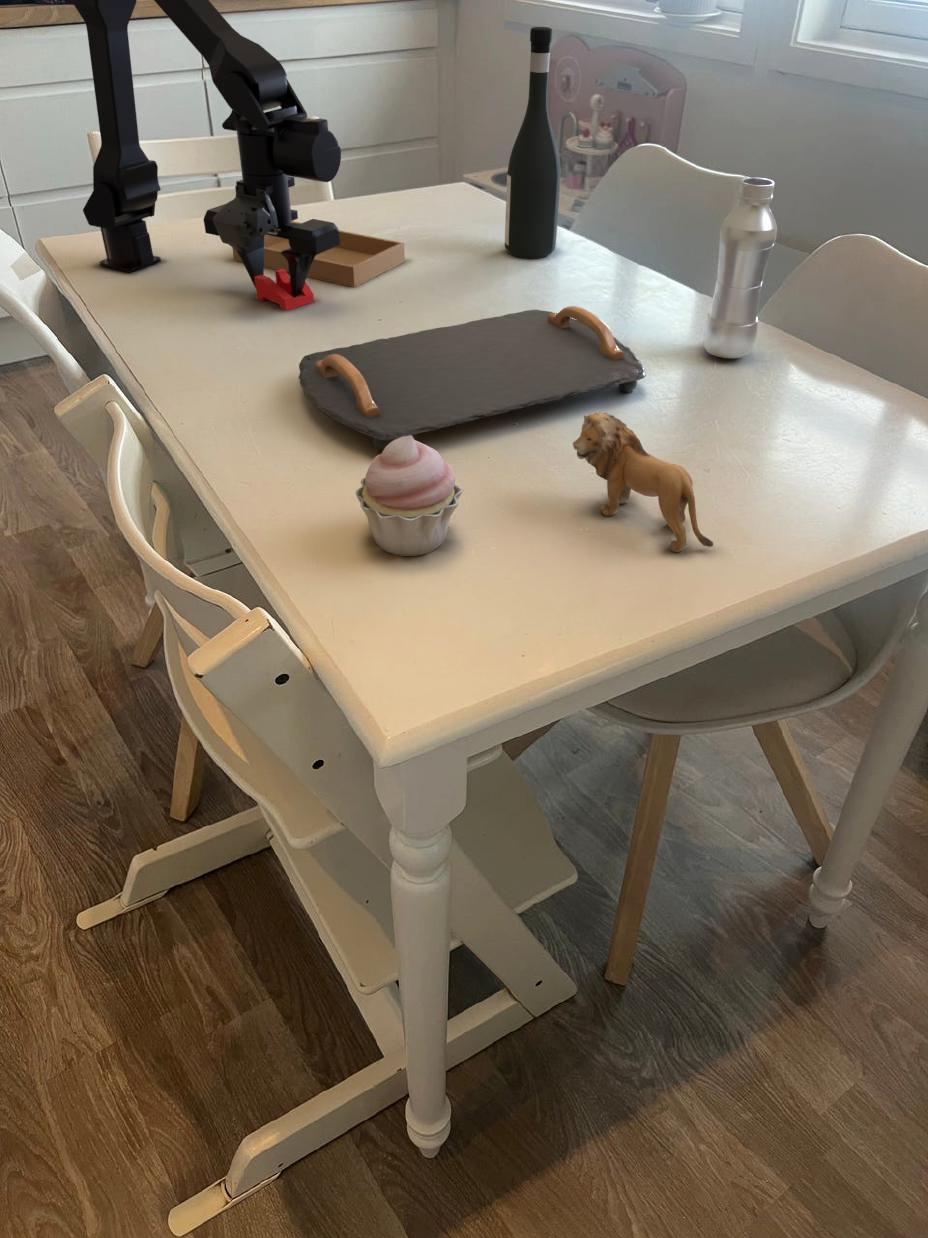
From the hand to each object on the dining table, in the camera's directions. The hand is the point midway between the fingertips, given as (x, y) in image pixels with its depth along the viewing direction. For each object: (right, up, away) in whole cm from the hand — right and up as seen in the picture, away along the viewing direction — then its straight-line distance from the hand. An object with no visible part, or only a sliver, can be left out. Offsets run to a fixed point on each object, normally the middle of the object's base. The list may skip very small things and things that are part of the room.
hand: (277, 292), depth 131 cm
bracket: (+1, -1, 0) cm, 2 cm away
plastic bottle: (+58, -12, -13) cm, 61 cm away
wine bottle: (+36, +12, +18) cm, 42 cm away
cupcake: (+21, -38, -46) cm, 63 cm away
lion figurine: (+41, -36, -43) cm, 70 cm away
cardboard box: (+4, +9, +13) cm, 17 cm away
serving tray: (+26, -18, -21) cm, 39 cm away
